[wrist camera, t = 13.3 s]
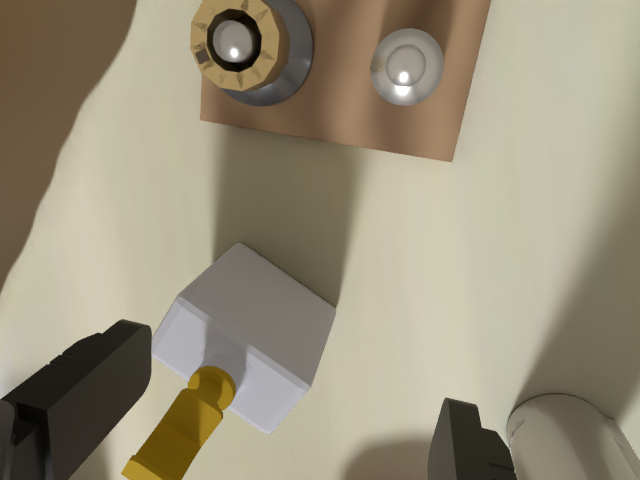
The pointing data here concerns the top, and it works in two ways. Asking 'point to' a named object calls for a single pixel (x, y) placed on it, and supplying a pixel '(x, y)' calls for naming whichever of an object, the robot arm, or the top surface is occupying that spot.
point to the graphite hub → (245, 47)
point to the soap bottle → (233, 356)
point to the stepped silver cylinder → (407, 66)
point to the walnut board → (369, 79)
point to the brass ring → (232, 3)
